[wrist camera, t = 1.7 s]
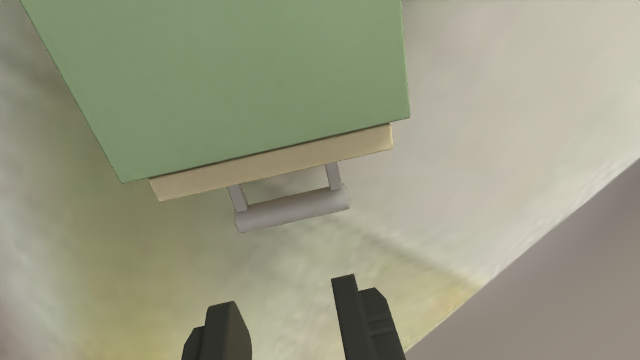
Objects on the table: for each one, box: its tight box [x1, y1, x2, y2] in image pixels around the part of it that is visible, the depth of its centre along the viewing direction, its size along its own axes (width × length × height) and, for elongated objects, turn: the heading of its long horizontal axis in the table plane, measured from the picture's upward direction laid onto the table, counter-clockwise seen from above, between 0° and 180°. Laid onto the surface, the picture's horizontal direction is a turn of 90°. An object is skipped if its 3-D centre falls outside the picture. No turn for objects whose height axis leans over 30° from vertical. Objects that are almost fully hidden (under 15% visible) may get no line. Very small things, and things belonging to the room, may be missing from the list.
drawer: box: [149, 123, 393, 233], centre depth 18 cm, size 17×10×7 cm, turn 11°
